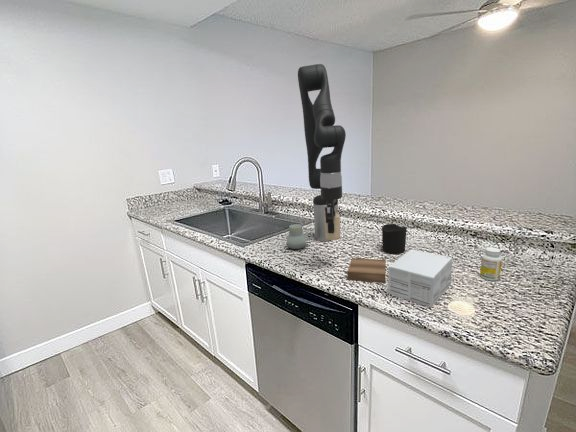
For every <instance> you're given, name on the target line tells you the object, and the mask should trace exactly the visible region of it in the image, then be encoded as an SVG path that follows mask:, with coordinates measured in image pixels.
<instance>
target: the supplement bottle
mask: <svg viewBox="0 0 576 432" xmlns="http://www.w3.org/2000/svg"><path fill="white" fill-rule="evenodd" d="M484 250H485V251H484V254H482V256H481V262H480V263H481V264H480V272H479V273H480V274H479V275H480V277H481V279H483V280H487V281H492V282H493V281H496V282H497V281H498V280H500V277H501V270H502V264H503V257H502V256H501V249H500V248H498V247H494V246H493V247H492V246H491V247H489V246H488V247H485V249H484Z"/></svg>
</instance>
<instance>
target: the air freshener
mask: <svg viewBox="0 0 576 432" xmlns="http://www.w3.org/2000/svg"><path fill="white" fill-rule="evenodd" d="M303 228H304V227H303V225H302V224H298V223H294V224H291V225H289V226H288V231H289V232H288V233H289V234H288V235H287V236H286V246H287V248H289V249H292V250H300V249H304V248H306V247H307V236H306V234H304V231H303Z"/></svg>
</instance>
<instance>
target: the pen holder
mask: <svg viewBox="0 0 576 432" xmlns="http://www.w3.org/2000/svg"><path fill="white" fill-rule="evenodd" d="M407 231H408V229H407V226H399V225H397V224H394V223H387V224H384V225H382V227H381V233H382V234H381V236H382V237H381V239H382V240H381V241H382V242H381V245H382V250H383V252H384V253H387V254H390V255H391V254H392V255H400V254H403V253H404V252H405V251H406V241H407V239H406V238H407Z"/></svg>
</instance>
